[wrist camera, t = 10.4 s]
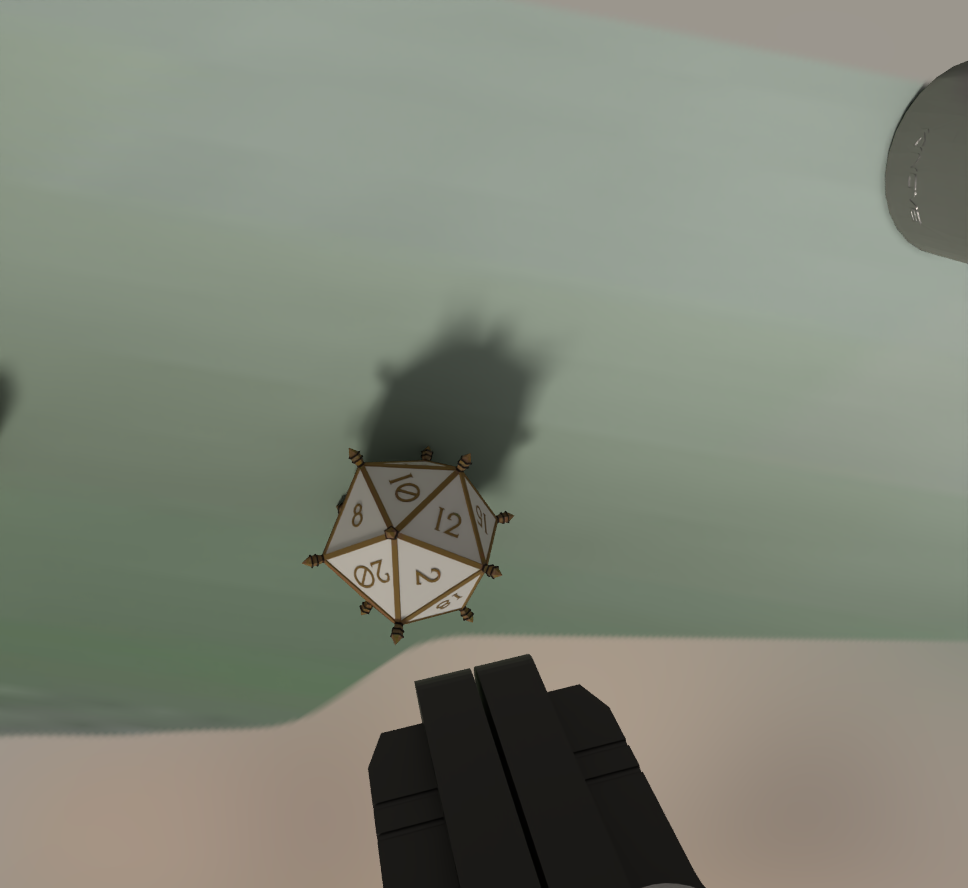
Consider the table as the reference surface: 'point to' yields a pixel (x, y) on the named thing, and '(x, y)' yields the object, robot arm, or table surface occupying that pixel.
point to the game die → (412, 539)
